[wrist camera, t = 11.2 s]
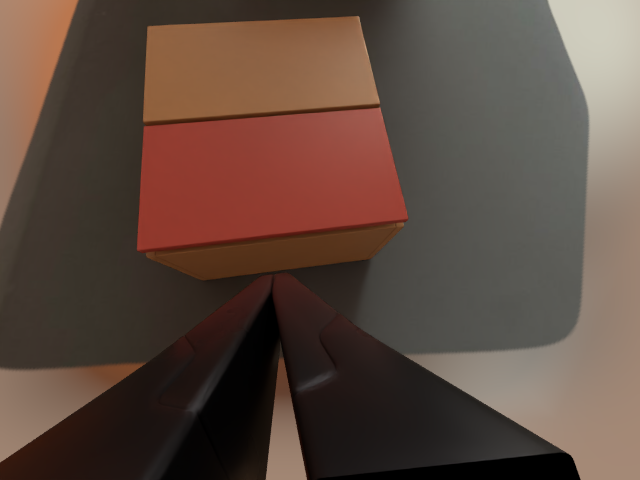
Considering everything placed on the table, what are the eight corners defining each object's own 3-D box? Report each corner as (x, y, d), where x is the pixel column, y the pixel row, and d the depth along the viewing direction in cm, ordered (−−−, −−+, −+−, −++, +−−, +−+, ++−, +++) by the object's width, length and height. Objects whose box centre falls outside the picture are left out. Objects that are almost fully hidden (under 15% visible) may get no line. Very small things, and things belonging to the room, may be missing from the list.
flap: (405, 222, 13) (408, 219, 12) (141, 253, 12) (136, 250, 11) (378, 113, 15) (380, 107, 14) (148, 131, 14) (143, 125, 13)
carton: (371, 259, 20) (410, 220, 12) (201, 280, 19) (135, 252, 11) (342, 112, 23) (359, 14, 16) (198, 123, 22) (146, 24, 15)
